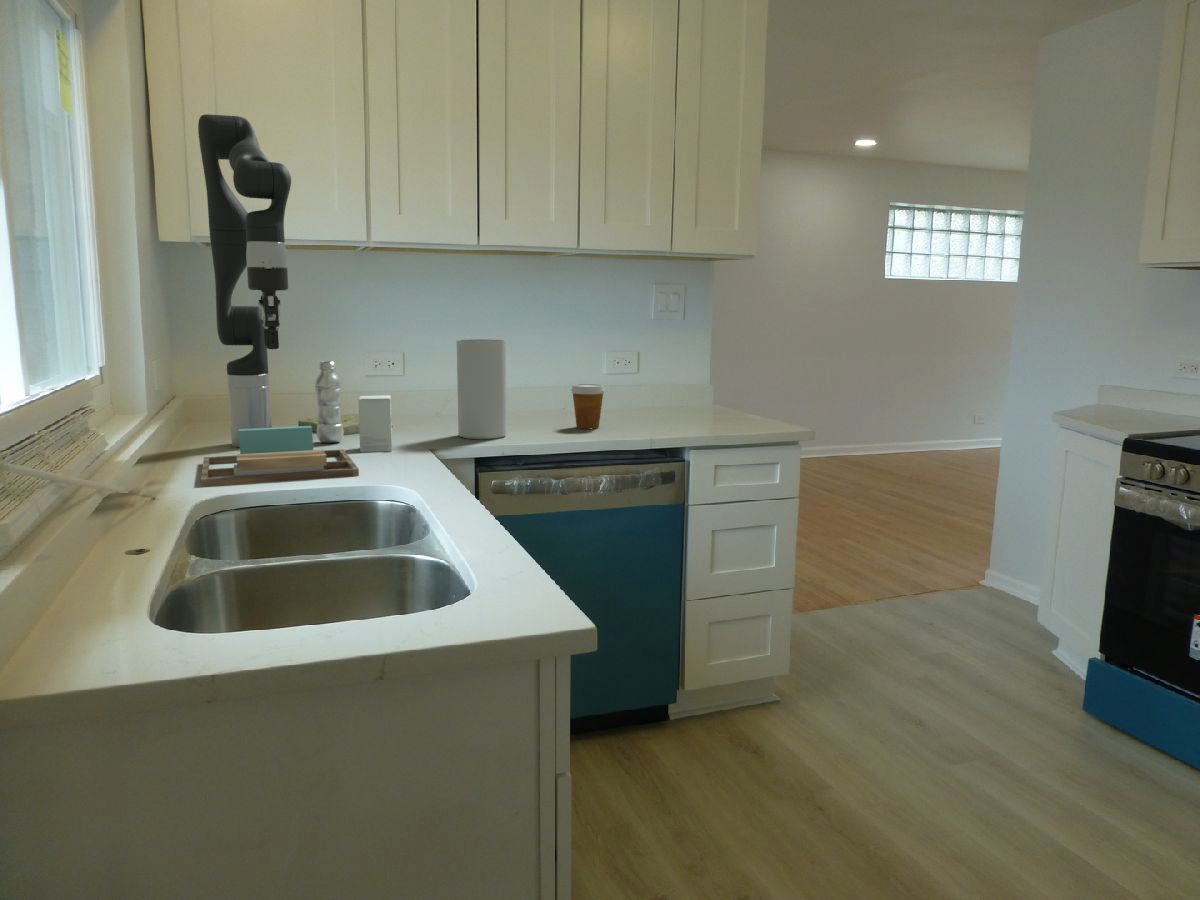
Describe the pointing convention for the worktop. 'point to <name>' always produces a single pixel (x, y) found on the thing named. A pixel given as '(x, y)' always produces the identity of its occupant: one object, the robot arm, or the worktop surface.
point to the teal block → (275, 439)
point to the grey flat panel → (276, 470)
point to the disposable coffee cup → (587, 404)
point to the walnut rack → (276, 477)
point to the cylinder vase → (481, 388)
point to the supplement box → (375, 423)
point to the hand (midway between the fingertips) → (271, 347)
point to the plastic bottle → (328, 404)
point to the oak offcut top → (281, 460)
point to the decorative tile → (348, 422)
